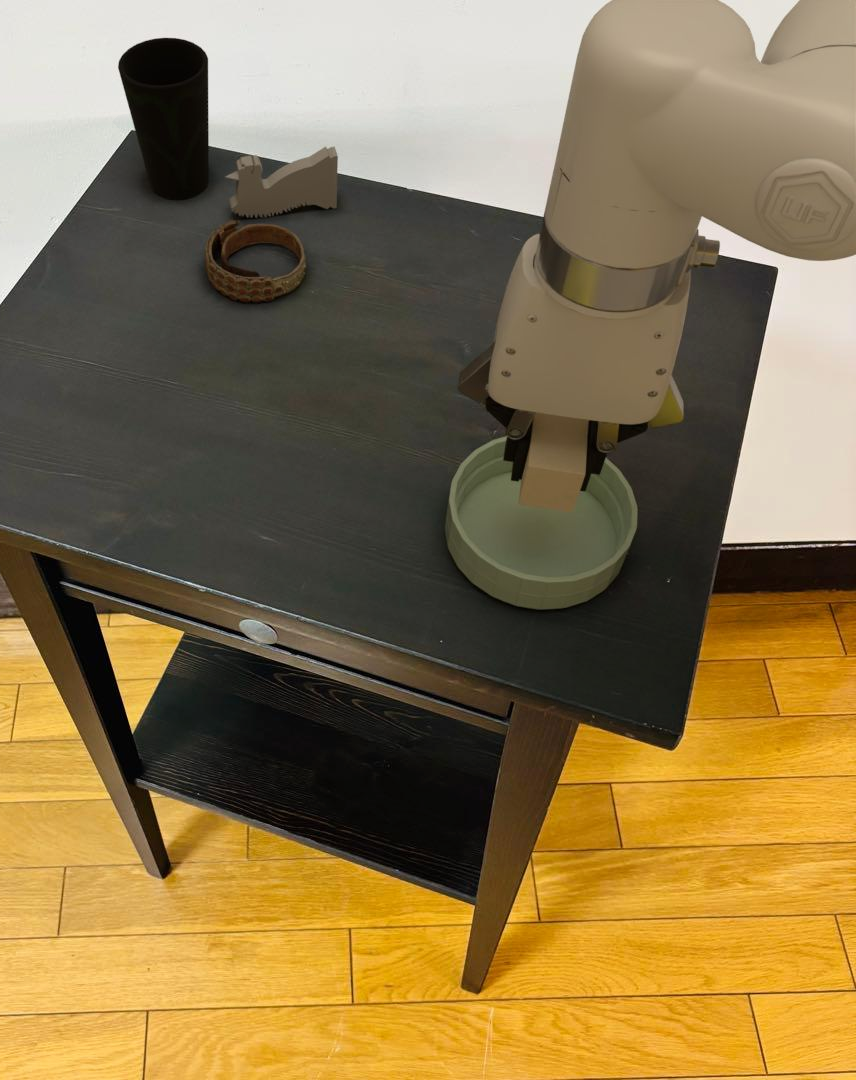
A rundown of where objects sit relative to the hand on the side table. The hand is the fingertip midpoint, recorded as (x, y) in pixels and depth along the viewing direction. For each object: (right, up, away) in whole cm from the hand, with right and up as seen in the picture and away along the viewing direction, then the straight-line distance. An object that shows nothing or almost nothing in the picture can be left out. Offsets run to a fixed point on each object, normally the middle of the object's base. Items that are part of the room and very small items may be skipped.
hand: (549, 467), depth 70 cm
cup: (-28, +29, +30) cm, 51 cm away
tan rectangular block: (0, 0, 0) cm, 0 cm away
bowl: (0, -5, +6) cm, 8 cm away
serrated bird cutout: (-19, +25, +28) cm, 42 cm away
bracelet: (-21, +19, +23) cm, 36 cm away
